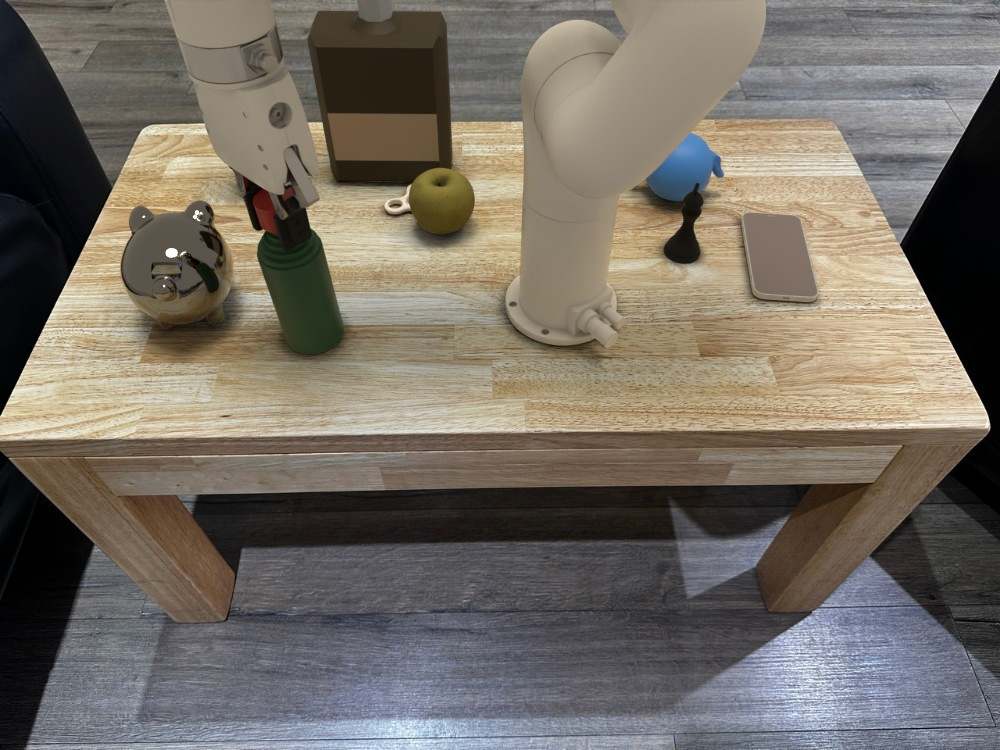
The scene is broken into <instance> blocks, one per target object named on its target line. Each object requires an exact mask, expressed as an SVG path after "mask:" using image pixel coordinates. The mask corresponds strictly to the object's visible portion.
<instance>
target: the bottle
mask: <svg viewBox="0 0 1000 750" xmlns="http://www.w3.org/2000/svg"><path fill="white" fill-rule="evenodd" d="M356 4H357V10H317V12H316V15H315V17H314V19H313V21H312V23H311V27H310V29H309V31H308V35H307V37H306V41H307V46H308V51H309V52H308V53H309V58H310V63H311V67H312V73H313V80H314V84H315V89H316V95H317V100H318V106H319V111H320V118H321V123H322V128H323V133H324V134H323V135H324V139H325V145H326V150H327V154H328V161H329V164H330V165H329V166H330V171H331V173H332V176H333V178H334V180H335V182H337V183H339V182H340V183H413V182H414V180H415V179H416V178H417V177H418V176H419V175H420V174H422V173H424V172H426V171H428V170H431V169H434V168H446V169H451V170H453V169H452V168H453V167H452V166H453V156H454V155H453V153H454V152H453V134H452V133H453V132H452V111H451V109H452V108H451V90H450V66H449V43H448V25H447V24H448V23H447V22H446V19H445V17H444V15H443V13H442V11H409V10H408V11H404V10H403V11H397V10H396V11H395V10H393V3H392V0H356Z"/></svg>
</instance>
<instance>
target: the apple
mask: <svg viewBox="0 0 1000 750" xmlns="http://www.w3.org/2000/svg"><path fill="white" fill-rule="evenodd" d="M411 184H412V185H411ZM411 184H410V185H411V188H410V191H409V201H408V203H409V205H410V209H411V211H410V212H411V214H412V216H413V218H414V219H415V222H417V223H418V225H419V226H420V227H421V228H422V229H424V230H425V231H427V232H429V233H432V234H435V235H445V234H450V233H451V234H452V233H454V232H457V231H459V230H461V229H462V228H464V227H465V226H466V225H467V224H468V222H469V221H470V219H471V217H472V215H473V212H474V209H475V203H476V197H475V191H474V188H473V186H472V184H471V182H470V180H469V179H468V178H467V177H466V176H465V175H464V174H463V173H461V172H459V171H457V170H454V169H446V168H434V169H431V170H428V171H426V172H424V173H422V174H420V175H419V176H418V177H417V178H416V179H415V180H414V182H411Z"/></svg>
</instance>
